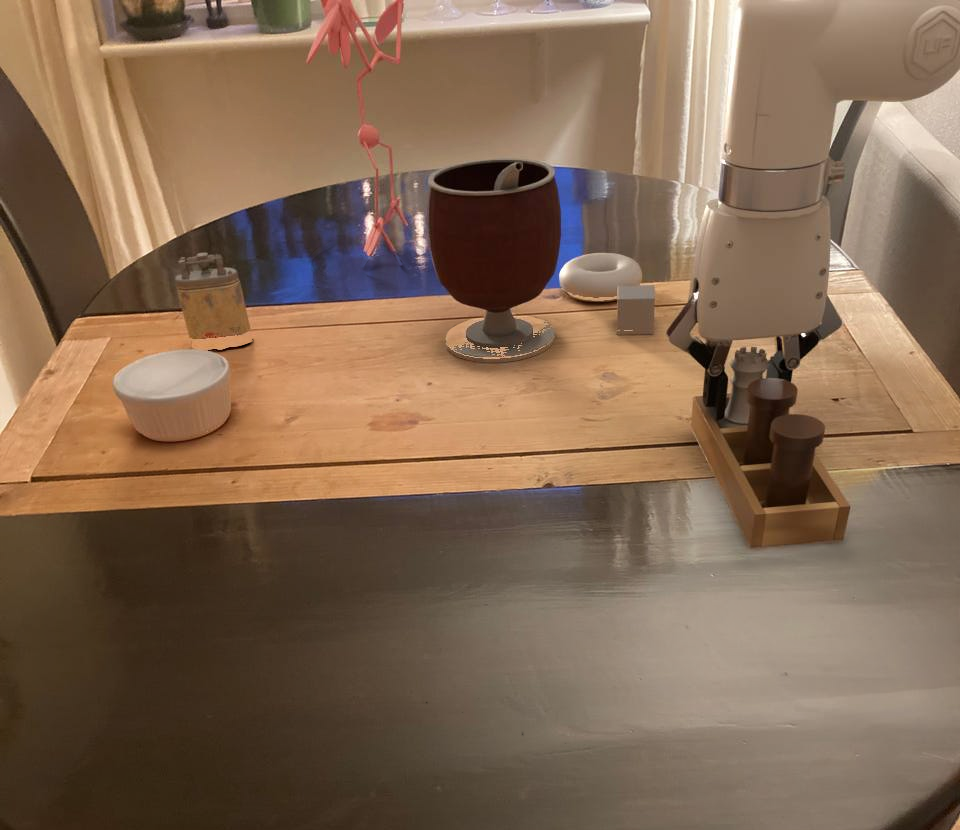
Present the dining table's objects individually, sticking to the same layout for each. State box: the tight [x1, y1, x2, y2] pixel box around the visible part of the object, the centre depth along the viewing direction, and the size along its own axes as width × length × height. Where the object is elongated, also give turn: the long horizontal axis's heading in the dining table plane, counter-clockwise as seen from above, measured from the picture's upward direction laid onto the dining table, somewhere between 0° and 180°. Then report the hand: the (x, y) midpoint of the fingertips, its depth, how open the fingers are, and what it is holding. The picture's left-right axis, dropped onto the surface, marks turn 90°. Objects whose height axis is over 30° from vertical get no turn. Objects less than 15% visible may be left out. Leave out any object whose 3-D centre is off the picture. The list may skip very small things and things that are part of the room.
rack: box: [690, 392, 851, 549], centre depth 79 cm, size 7×20×4 cm, turn 3°
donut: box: [558, 252, 643, 303], centre depth 115 cm, size 10×4×10 cm
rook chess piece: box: [717, 346, 770, 429], centre depth 82 cm, size 4×4×8 cm
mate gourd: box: [425, 157, 562, 364], centre depth 99 cm, size 16×14×20 cm
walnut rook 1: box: [739, 377, 799, 466], centre depth 77 cm, size 4×4×8 cm
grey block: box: [616, 284, 656, 336], centre depth 105 cm, size 4×4×4 cm
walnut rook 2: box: [761, 413, 826, 508], centre depth 72 cm, size 4×4×8 cm
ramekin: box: [112, 348, 232, 443], centre depth 94 cm, size 11×11×5 cm
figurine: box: [305, 0, 409, 257], centre depth 121 cm, size 15×26×35 cm, turn 170°
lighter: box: [174, 252, 251, 339], centre depth 107 cm, size 7×4×10 cm, turn 99°
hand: (743, 408), depth 82 cm, fingers open, 4 cm apart
